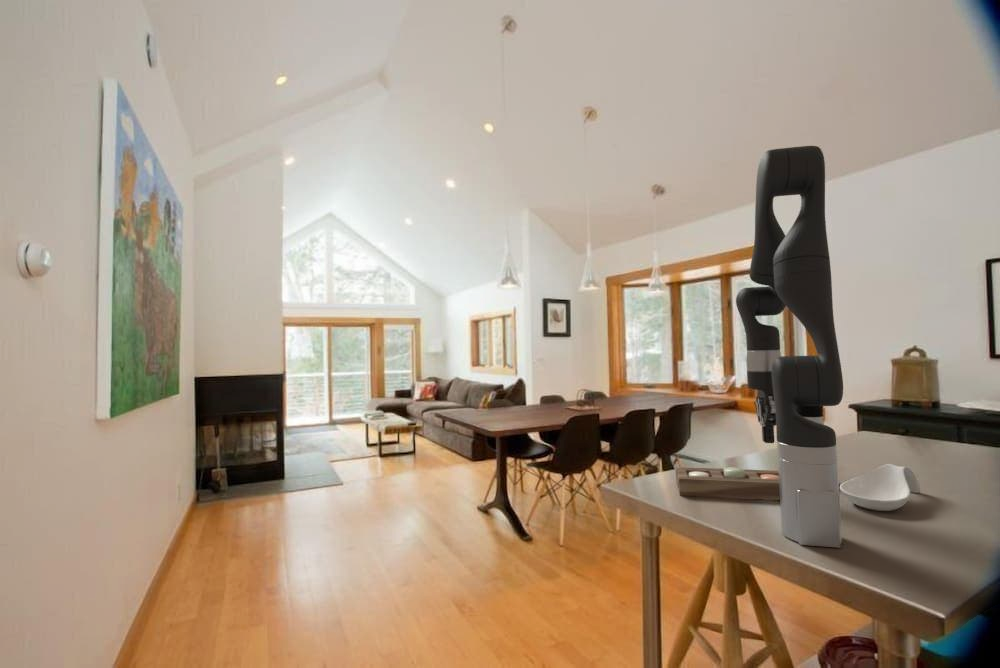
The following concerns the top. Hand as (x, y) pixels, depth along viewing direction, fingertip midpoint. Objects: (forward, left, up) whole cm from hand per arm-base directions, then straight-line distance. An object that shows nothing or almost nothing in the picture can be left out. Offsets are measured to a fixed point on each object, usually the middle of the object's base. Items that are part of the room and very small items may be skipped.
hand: (768, 442), depth 110 cm
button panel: (0, +8, -12) cm, 14 cm away
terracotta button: (0, 0, -11) cm, 11 cm away
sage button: (0, +8, -10) cm, 12 cm away
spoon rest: (-1, -22, -13) cm, 26 cm away
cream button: (0, +16, -11) cm, 19 cm away
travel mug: (+12, -12, -12) cm, 21 cm away
